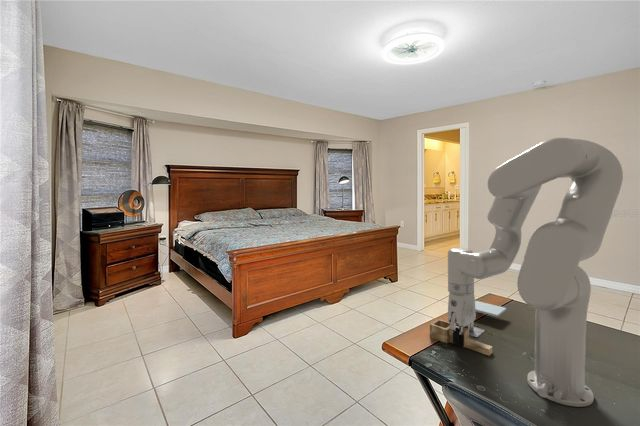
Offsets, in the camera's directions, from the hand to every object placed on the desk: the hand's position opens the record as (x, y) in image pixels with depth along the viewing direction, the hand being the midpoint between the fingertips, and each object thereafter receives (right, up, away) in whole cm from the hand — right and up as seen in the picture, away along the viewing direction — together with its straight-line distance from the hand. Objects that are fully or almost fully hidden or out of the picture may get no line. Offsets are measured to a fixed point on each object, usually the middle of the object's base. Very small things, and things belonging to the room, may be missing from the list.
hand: (461, 342), depth 95 cm
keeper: (+18, +1, +18) cm, 26 cm away
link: (0, 0, 0) cm, 0 cm away
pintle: (+7, 0, +8) cm, 11 cm away
